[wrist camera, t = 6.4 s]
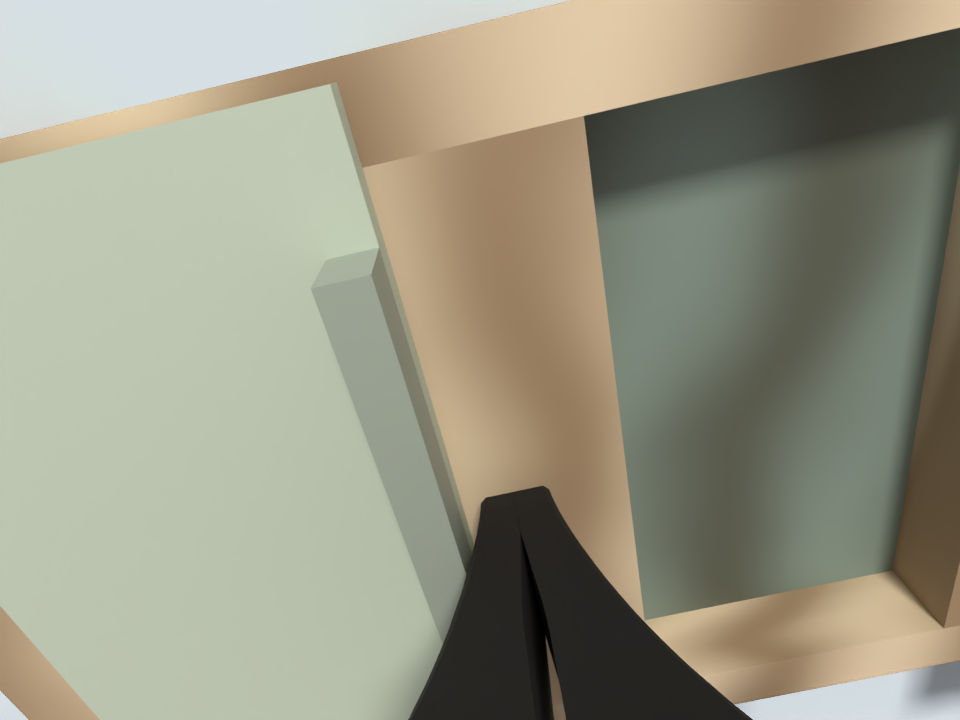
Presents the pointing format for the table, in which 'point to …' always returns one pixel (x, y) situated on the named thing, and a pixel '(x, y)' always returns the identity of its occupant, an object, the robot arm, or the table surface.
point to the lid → (219, 426)
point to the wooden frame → (675, 308)
